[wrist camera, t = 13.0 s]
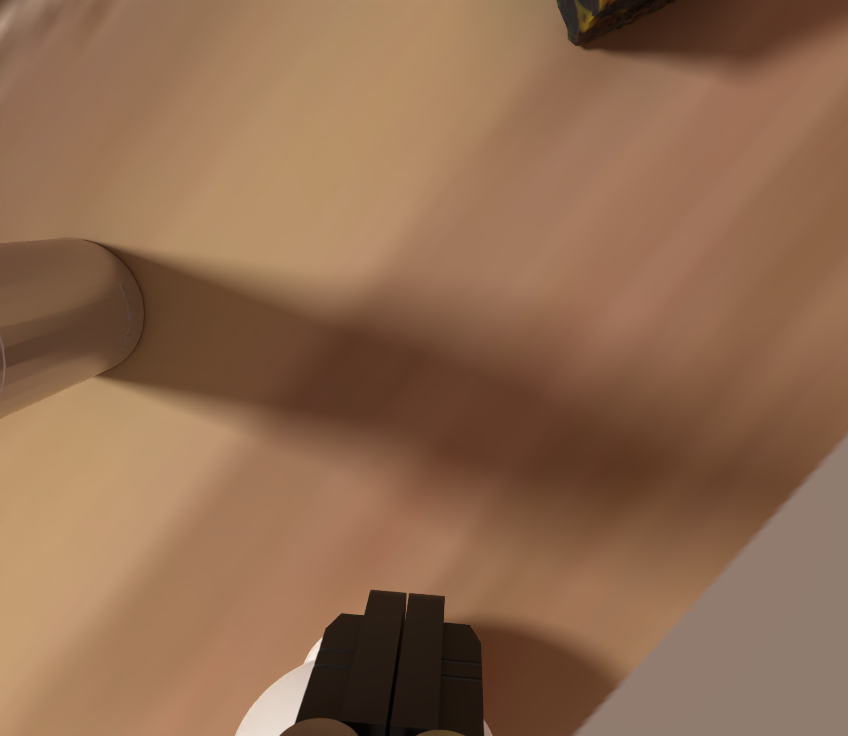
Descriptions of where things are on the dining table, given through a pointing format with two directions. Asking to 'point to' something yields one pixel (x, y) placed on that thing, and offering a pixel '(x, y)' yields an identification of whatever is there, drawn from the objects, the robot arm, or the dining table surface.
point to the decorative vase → (284, 702)
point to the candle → (602, 16)
